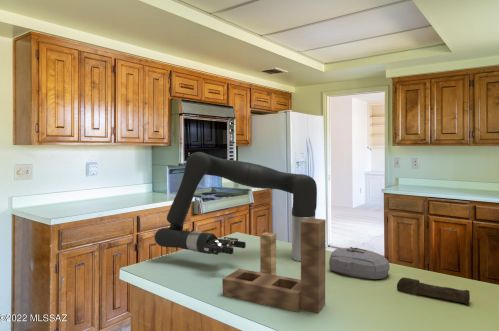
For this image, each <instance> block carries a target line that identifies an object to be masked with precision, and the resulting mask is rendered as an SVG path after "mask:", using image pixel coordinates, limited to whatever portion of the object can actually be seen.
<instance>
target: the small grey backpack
mask: <svg viewBox="0 0 499 331" xmlns="http://www.w3.org/2000/svg"><path fill="white" fill-rule="evenodd" d="M328 266H329V269H330V271H331V272H335V273H336V274H339V275H344V276H348V277H352V278H357V279H359V278H360V279H364V280H366V279H367V280H380V279H385V278H386V277H388V273H389V270H390V262H389V260H388V259H387V258H385V257H384V256H383V255H382V254H380V253H378V252H374V251H372V250H369V249H368V250H367V249H364V248H359V247H352V246H349V247H343V248H337V249H335V250H333V251H332V252H331V254H330V256H329V261H328Z"/></svg>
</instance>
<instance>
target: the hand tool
mask: <svg viewBox="0 0 499 331" xmlns="http://www.w3.org/2000/svg"><path fill="white" fill-rule="evenodd" d="M396 290H397V291H399V292H401V293H404V294H407V295H412V296H419V295H421V296H426V297H431V298H436V299H437V298H438V299H442V300H444V301H445V300H446V301H450V302H454V303H455V302H456V303H462V304H465V305H466V306H467V307H468V306H469V304H470V300H471V297H470V296H471V294H470V290H468V289H465V290H464V289H456V288H453V287H446V286H439V285H433V284H428V283H424V282H420V280H419V279H415V278H411V277H401V278H400V279H398V282H397V283H396Z"/></svg>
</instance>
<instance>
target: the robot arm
mask: <svg viewBox="0 0 499 331" xmlns="http://www.w3.org/2000/svg"><path fill="white" fill-rule="evenodd" d="M204 176H212V177H219V178H223V179H225V180H228V181H230V182H233V183H235V184H238V185H240V186H241V185H242V186H243V187H244V186H245V187H249V188H254V189H263V190H279V191H283V192H287V193H289V194H292V208H291V259H292V260H294V261H296V262H297V261H298V262H301V222H302V221H303V220H305V219H307V218H314V219H316V210H317V203H318V202H317V201H318V200H317V199H318V188H317V186H318V185H317V182H316V180H315V179H314V178H313V177H311V176H310V175H307V174H303V173H302V174H301V173H293V172H285V171H279V170H278V169H274V168H271V167H268V166H265V165H261V164H257V163H253V162H247V161H241V160H233V159H224V158H220V157H218V156H214V155H212V154H208V153H206V152H203V151H197V152H193V153H192V154H190V155H189V156H188V157H187V158H186V162H185V167H184V171H183V175H182V179H181V181H180V182H181V183H180V185H179V188H178V189H177V192H176V193H175V195H174V196H175V197H174V199H173V201H172V203H171V205H170V208H169V210H168V213H167V216H166V220H167V222H168V223H169V224H170V225H169V227H162V228H159V229H158V230H156V232H155V233H154V241H155V243H156V244H157V245H158V246H159V247H164V248H174V249H176V248H178V249H183V250H188V251H191V252H195V253H201V254H206V255H216V256H218V255H219V254H220V255H222V254H228V255H234V248H239V249H245V248H246V247H247V245H246V241H241V240H239V238H236V237H226V236H224V237H223V238H222V237H221V238H220V237H219V238H218V237H217V235H216V234H215V233H211V232H203V231H191V230H186V229H185V230H184V224H185V223H184V222H185V220H186V218H187V216H188V213H189V211H190V208H191V206H192V202H193V198H194V195H195V193H196V190H197V188H198V186H199V184H200V182H201V181H202V180H203V178H204Z"/></svg>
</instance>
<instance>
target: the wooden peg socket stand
mask: <svg viewBox="0 0 499 331" xmlns="http://www.w3.org/2000/svg"><path fill="white" fill-rule="evenodd" d="M326 222H327V220H326V219H323V218H315V219H314V218H307V219H305V220H303V221H302V222H301V261H300V278H299V279H298V278H293V277H288V276H283V275H282V276H281V275H277V274H276V275H271V274H266V273H260V272H259V271H255V270H249V269H248V270H247V269H243V268H238V269H236V270H235V271H233V272H231V273H230V274H228V275H226V276H224V277H223V278H222V296H225V297H229V298H233V299H237V300H243V301H248V302H251V303H256V304H260V305H265V306H269V307H273V308H277V309H282V310H287V311H291V312H296V313H299V312H300V311H305V312H306V311H307V312H311V313H316V314H319V313H320V312H321V311H322V310H323V308H324V307H325V306H326V249H327V248H326V246H327V245H326V244H327V243H326V242H327V241H326V239H327V238H326V234H327V232H326V228H327V227H326Z"/></svg>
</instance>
